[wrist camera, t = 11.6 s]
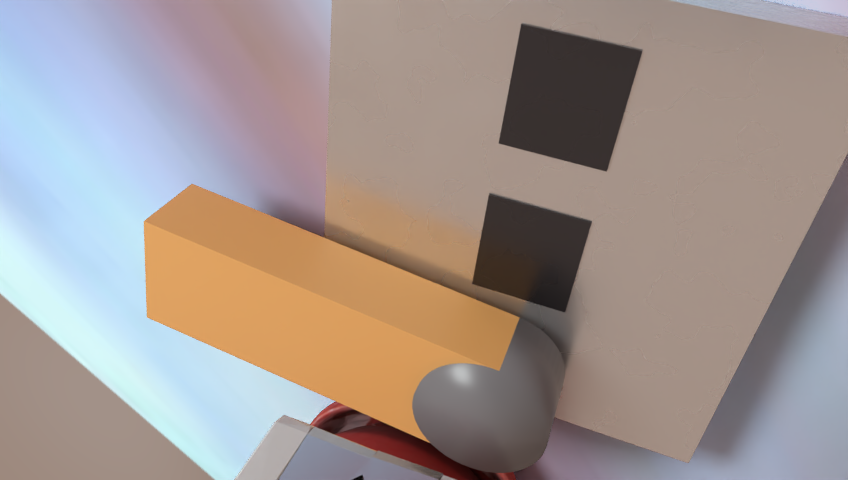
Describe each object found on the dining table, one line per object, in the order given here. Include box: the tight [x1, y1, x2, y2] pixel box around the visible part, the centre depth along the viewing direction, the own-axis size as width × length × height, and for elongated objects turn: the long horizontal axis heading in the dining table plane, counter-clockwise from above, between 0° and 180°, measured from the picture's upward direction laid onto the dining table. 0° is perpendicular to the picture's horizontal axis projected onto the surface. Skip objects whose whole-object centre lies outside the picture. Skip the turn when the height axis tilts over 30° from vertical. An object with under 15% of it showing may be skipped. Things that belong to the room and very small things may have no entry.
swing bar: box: [144, 184, 565, 473], centre depth 28 cm, size 5×16×3 cm, turn 77°
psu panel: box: [324, 0, 848, 463], centre depth 26 cm, size 16×17×2 cm
